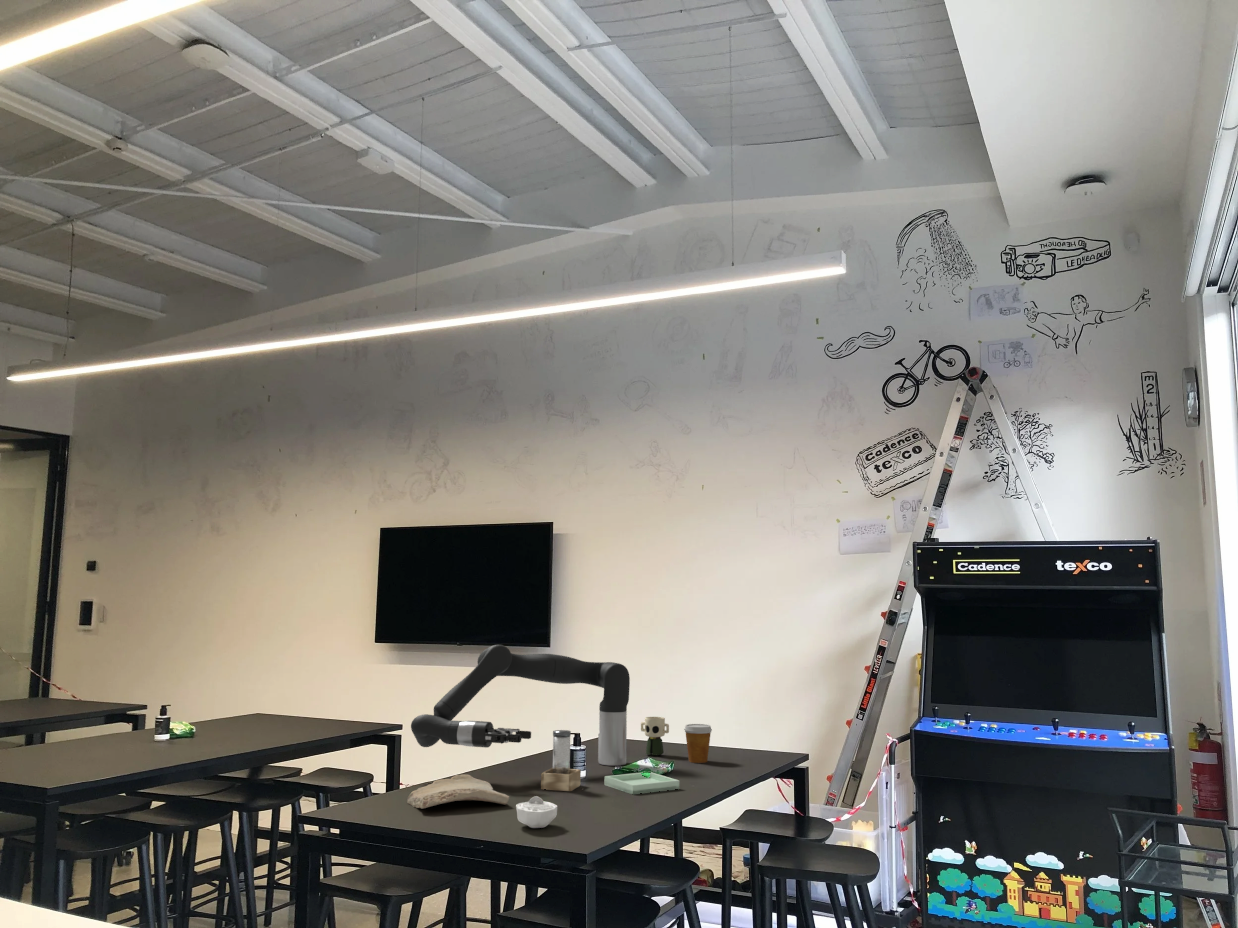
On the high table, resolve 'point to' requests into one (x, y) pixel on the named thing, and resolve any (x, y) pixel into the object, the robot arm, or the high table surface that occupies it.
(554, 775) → the holder
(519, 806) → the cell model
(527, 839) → the high table surface
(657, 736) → the character mug
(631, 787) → the tray
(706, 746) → the disposable coffee cup
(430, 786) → the beige pottery shard
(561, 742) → the canister
